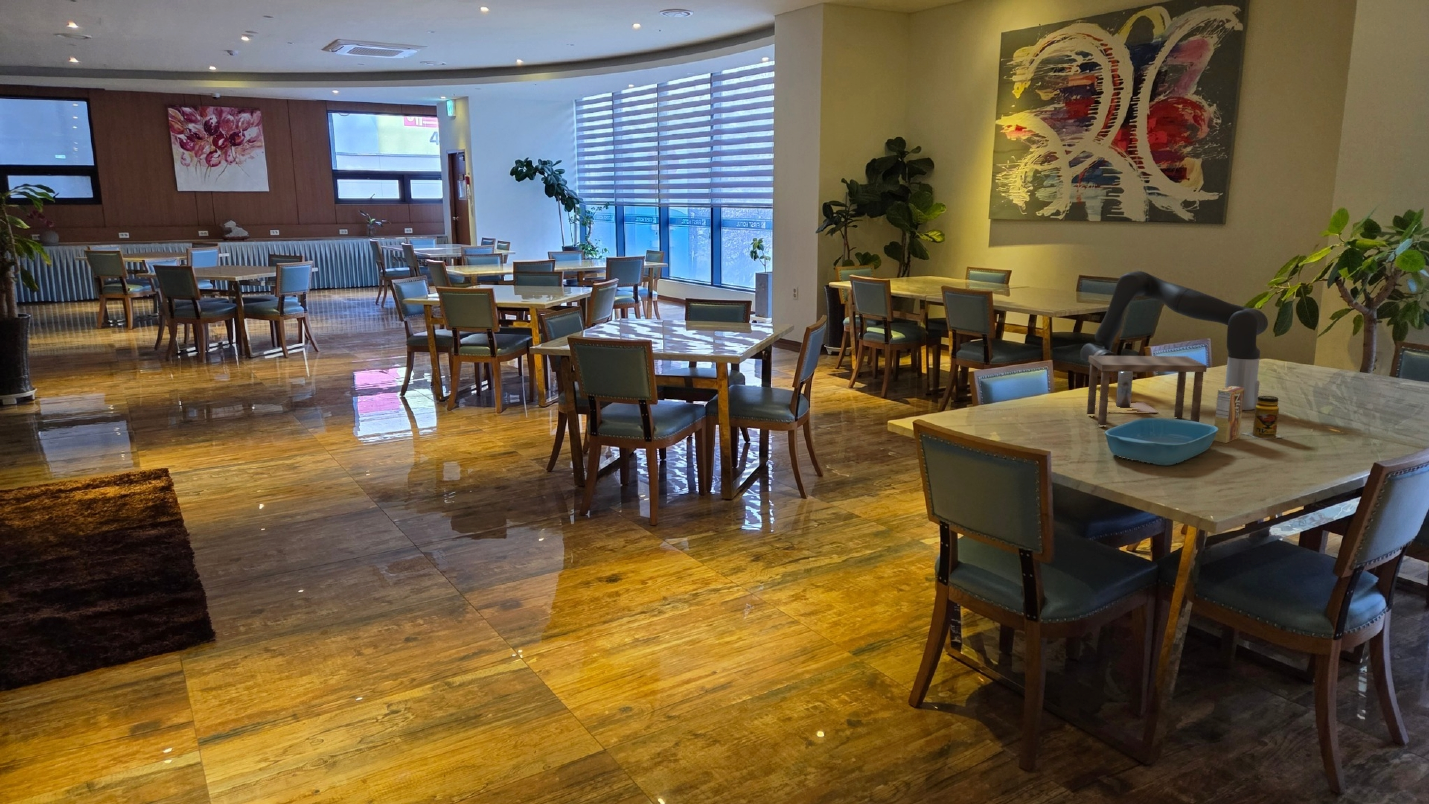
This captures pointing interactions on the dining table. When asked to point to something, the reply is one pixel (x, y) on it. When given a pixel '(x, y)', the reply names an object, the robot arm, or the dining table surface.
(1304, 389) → the dining table surface
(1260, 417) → the condiment
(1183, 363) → the low stand
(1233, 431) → the candy box
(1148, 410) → the rubber mat
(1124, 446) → the casserole dish
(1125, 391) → the metal canister
